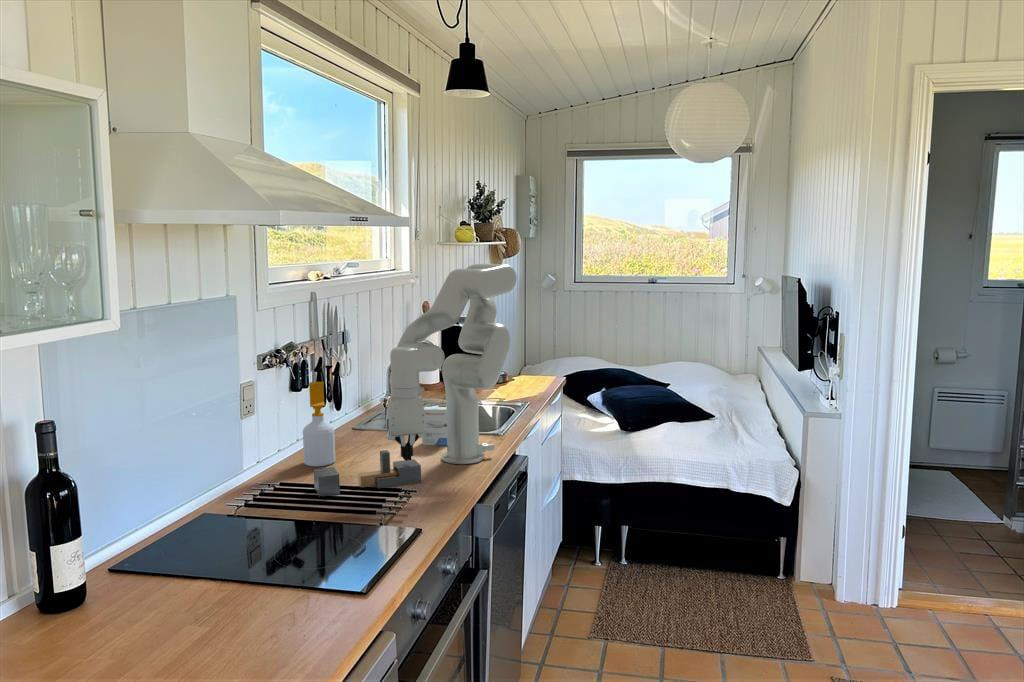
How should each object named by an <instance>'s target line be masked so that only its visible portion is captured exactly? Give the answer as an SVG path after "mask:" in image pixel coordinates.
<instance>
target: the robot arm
mask: <svg viewBox="0 0 1024 682" xmlns="http://www.w3.org/2000/svg"><path fill="white" fill-rule="evenodd" d="M517 279H518V278H517V272H516V271H515V268H513V266H511V265H509V264H506V263H505V264H504V263H503V264H502V263H474V264H471V265H469V266H468V267H466V268H458V269H457V268H456V269H453V270H451V272H449V274H448V275H447V277H446V278H445V281H444V283H443V285H442V286H441V288H440V290H439V292H438V294H437V296H436V298H435V299H434V302H433V304H432V306H431V307H430V309H428V310H427V311H425V312H424V313H422V314H421V315H420V316H418V317H417V318H416V319H415V320H414V321H412V322H411V323H409V325H408V326H407V327H406V328H405V330H404V332H403V333H402V335H401V337H400V339H399V341H398V343H397V345H396V347H393V348H392V349H391V351H390V354H389V355H390V356H389V358H390V359H389V361H390V393H391V395H390V396H391V397H388V400H387V404H386V416H385V417H386V418H385V427H386V428H385V430H386V432H387V433H386V439H387V440H388V441H394V442H395V441H396V442H397V443H398V444H399V445H400V457H401V458H402V460H405V461H407V460H411V459H412V457H413V456H414V445H415V443H416V442H417V441H418V439H420V438H421V439H422V437H424V436H426V432H425V429H426V421H425V412H424V407H425V405H424V401H423V397H422V396H421V393H425V387H423V386H421V385H420V373H421V372H427V373H428V372H435V371H437V370H439V369H440V368H441V375H442V378H443V383H444V389H445V400H446V401H445V402H446V404H445V407H446V413H447V445H446V449H447V450H446V451H445V452H444V453H442V455H441V459H442V461H444V462H445V463H448V464H453V465H454V464H455V465H470V464H476V463H479V462H482V461H483V460H484V459H485V451H489V452H490V451H494V450H495V444H494V443H489V444H488V443H486V442H485V443H484V442H483V443H481V442H480V437H479V435H480V432H479V421H480V420H479V397H478V395H477V391H476V389H479V390H490V389H492V388H494V387H495V386H496V384H497V383H498V381H499V378H500V375H501V373H502V370H503V368H504V364H505V362H506V358H507V356H508V353H509V349H510V346H511V334H510V331H509V329H508V327H507V326H505V325H504V324H502V323H497V322H495V321H496V316H497V305H496V303H495V301H494V299H493V298H495V297H498V296H502V295H506V294H508V293H510V292H511V291H512V290H514V288H515V286H516V284H517ZM468 302H469V306H468V307H469V308H468V310H467V314H466V316H465V319H464V322H463V324H462V328H461V331H460V333H459V337H458V340H457V343H458V346H459V348H460V349H461V350H462V351H463V352H466V353H469V354H466V353H454V354H451V355H449V356H447V357H446V355H445V353H444V350H443V349H442V348H441V347H440V346H438V345H436V344H434V343H433V344H432V343H424V342H423V341H425V340H426V339H427V338H428V337H430V336H431V335H433V334H435V333H437V332H441V331H443V330H446V329H449V328H451V327H453V326H455V325H456V324H457V323H458V322H459V319H460V318H461V316H462V314H463V312H464V310H465V308H466V306H467V303H468ZM470 353H471V354H470ZM474 354H476V355H474ZM405 436H407V441H406V438H405Z"/></svg>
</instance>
